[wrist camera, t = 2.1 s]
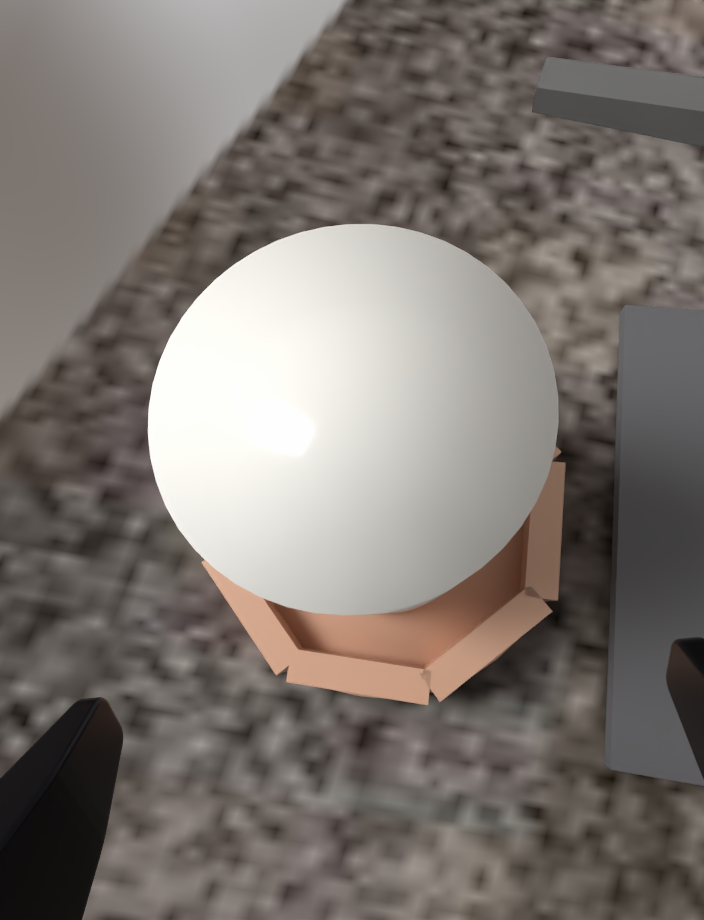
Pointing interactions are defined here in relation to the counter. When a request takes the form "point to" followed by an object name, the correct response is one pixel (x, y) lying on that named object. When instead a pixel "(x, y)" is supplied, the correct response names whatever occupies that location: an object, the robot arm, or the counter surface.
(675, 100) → the door handle
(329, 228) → the white smooth rounded cylinder
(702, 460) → the dark grey flat plate
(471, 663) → the dish
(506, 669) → the counter surface
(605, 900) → the counter surface
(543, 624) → the counter surface
